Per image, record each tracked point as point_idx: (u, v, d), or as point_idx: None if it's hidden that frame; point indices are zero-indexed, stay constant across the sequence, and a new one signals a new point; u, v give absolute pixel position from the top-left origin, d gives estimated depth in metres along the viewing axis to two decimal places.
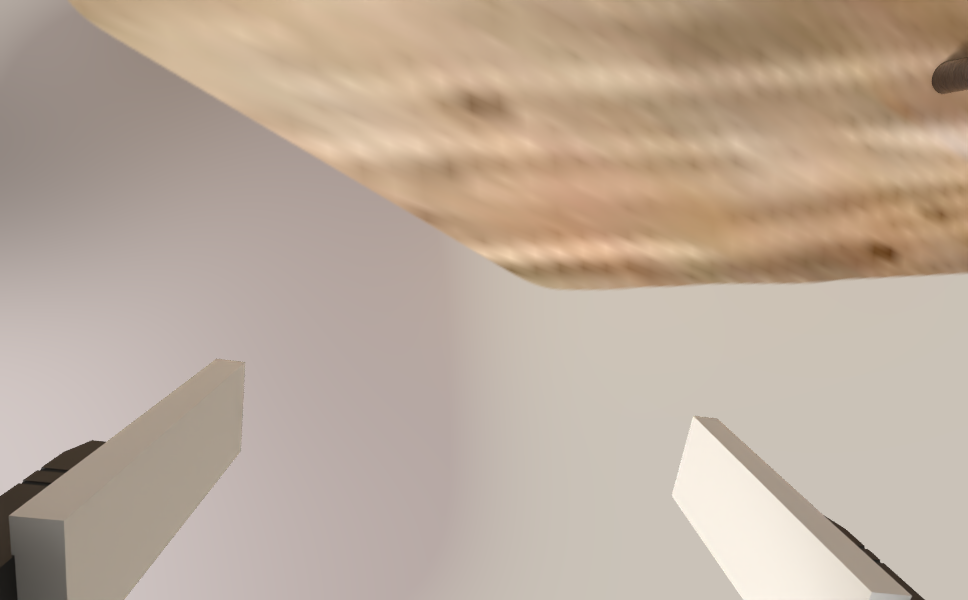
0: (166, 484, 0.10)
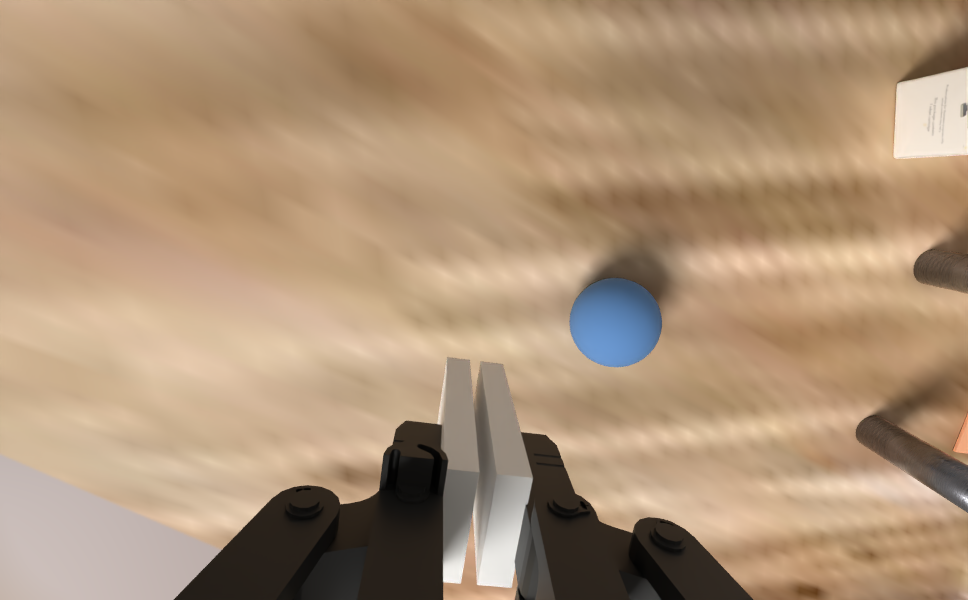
0: None
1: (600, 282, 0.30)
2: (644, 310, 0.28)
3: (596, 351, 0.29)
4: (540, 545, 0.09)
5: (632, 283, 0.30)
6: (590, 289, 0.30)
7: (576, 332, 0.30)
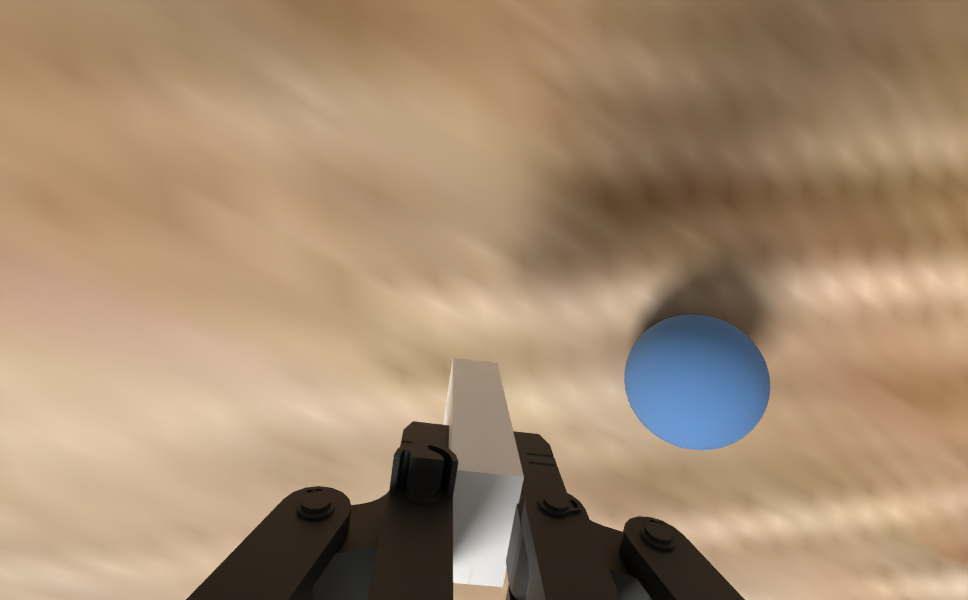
0: None
1: (674, 322, 0.20)
2: (750, 371, 0.18)
3: (672, 431, 0.19)
4: (531, 544, 0.09)
5: (725, 325, 0.19)
6: (659, 333, 0.20)
7: (638, 398, 0.20)
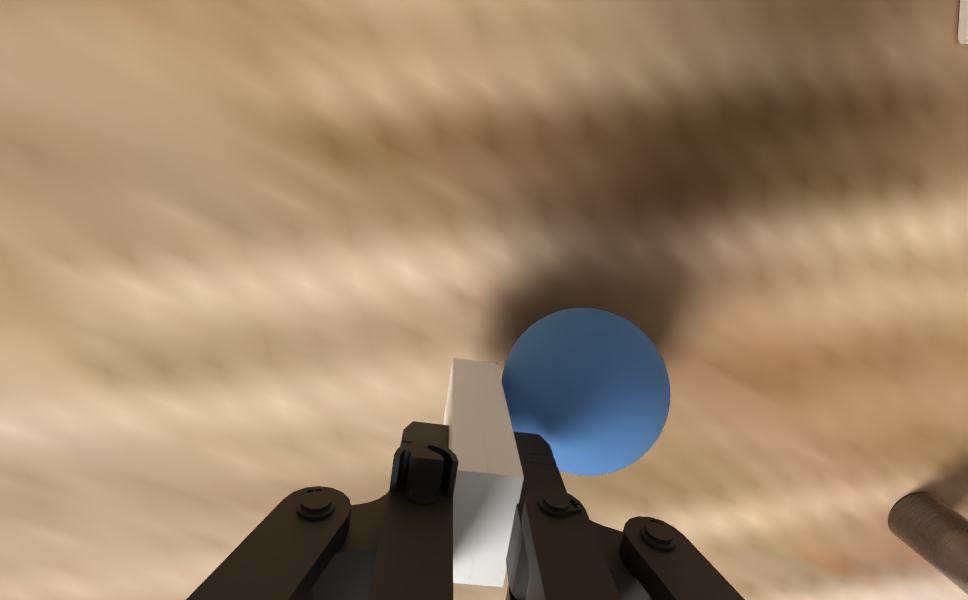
0: None
1: (612, 340, 0.15)
2: None
3: (639, 456, 0.16)
4: (530, 545, 0.09)
5: (616, 314, 0.16)
6: (621, 364, 0.14)
7: (625, 454, 0.15)
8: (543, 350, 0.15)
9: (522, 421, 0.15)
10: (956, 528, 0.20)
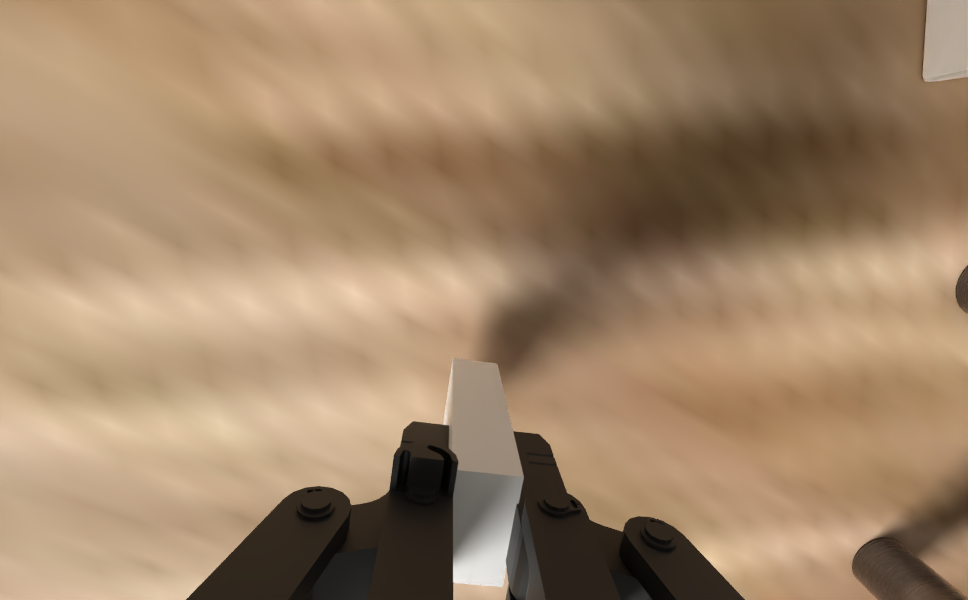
0: None
1: None
2: None
3: None
4: (530, 545, 0.09)
5: None
6: None
7: None
8: None
9: None
10: (919, 579, 0.19)
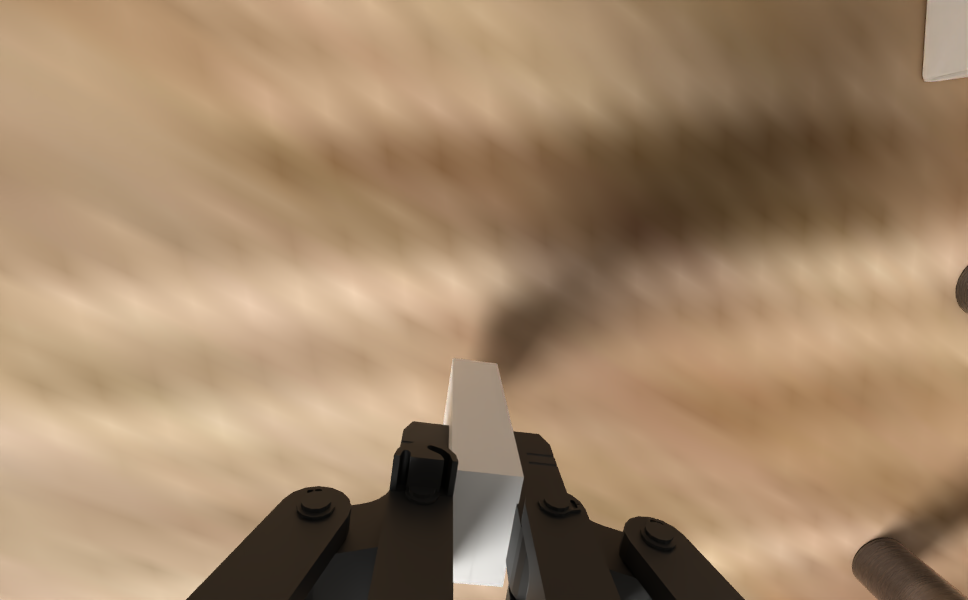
0: None
1: None
2: None
3: None
4: (530, 545, 0.09)
5: None
6: None
7: None
8: None
9: None
10: (919, 579, 0.19)
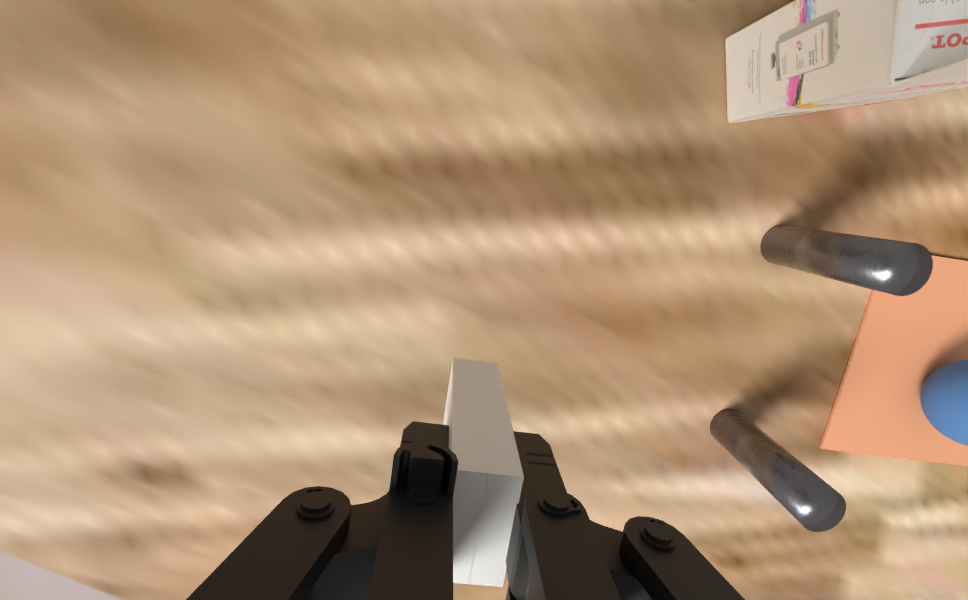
0: None
1: None
2: None
3: None
4: (530, 545, 0.09)
5: None
6: None
7: (966, 421, 0.30)
8: (942, 367, 0.32)
9: (920, 396, 0.33)
10: (740, 425, 0.31)
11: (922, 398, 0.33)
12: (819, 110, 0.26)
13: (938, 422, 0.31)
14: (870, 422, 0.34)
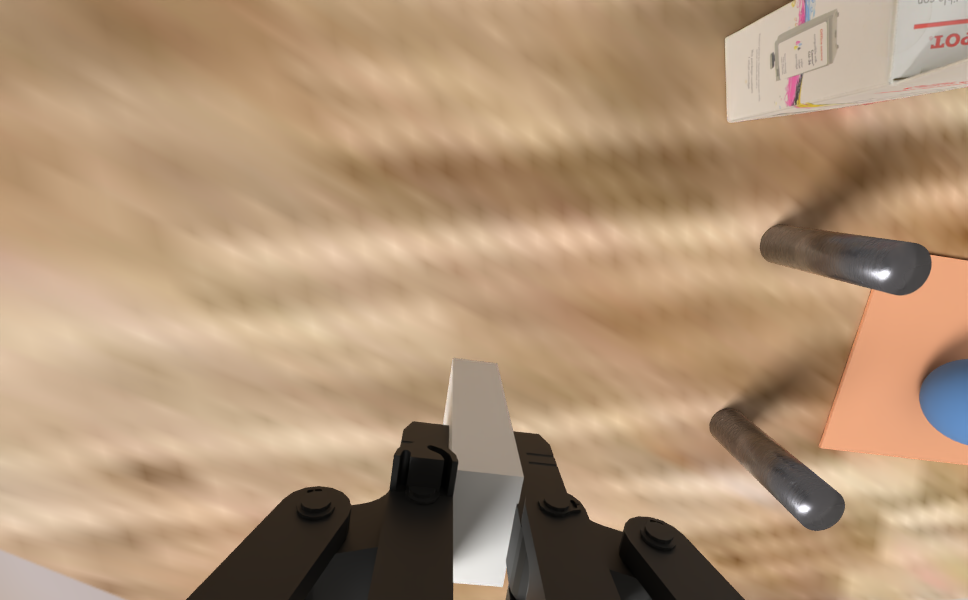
0: None
1: None
2: None
3: None
4: (530, 545, 0.09)
5: None
6: None
7: (964, 420, 0.30)
8: (941, 366, 0.32)
9: (919, 396, 0.33)
10: (740, 425, 0.31)
11: (921, 397, 0.33)
12: (818, 110, 0.26)
13: (937, 421, 0.31)
14: (869, 421, 0.34)
